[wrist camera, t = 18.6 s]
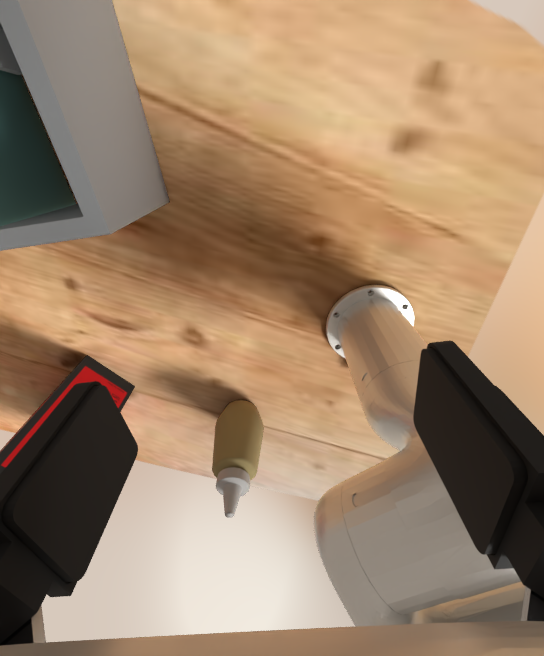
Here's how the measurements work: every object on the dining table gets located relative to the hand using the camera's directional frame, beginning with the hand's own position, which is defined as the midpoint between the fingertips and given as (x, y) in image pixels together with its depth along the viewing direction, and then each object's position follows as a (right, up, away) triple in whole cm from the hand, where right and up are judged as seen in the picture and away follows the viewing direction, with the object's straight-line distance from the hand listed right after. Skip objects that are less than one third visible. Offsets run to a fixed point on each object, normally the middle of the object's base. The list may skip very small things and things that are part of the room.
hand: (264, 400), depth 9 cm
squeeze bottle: (-5, -13, +46) cm, 48 cm away
